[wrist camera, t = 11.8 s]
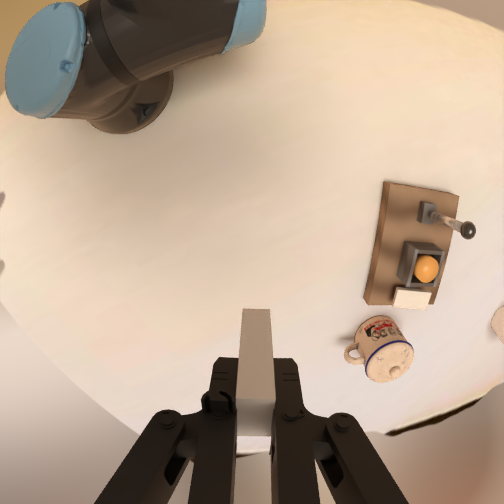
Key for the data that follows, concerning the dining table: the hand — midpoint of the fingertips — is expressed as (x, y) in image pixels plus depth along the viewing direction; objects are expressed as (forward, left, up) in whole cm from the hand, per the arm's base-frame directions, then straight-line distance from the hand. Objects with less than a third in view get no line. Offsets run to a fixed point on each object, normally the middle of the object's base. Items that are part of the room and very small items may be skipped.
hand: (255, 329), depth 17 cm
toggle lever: (-3, +26, -24) cm, 36 cm away
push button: (+5, +26, -25) cm, 36 cm away
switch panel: (+3, +26, -29) cm, 39 cm away
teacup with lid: (+21, +22, -29) cm, 42 cm away
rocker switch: (+11, +26, -25) cm, 37 cm away
